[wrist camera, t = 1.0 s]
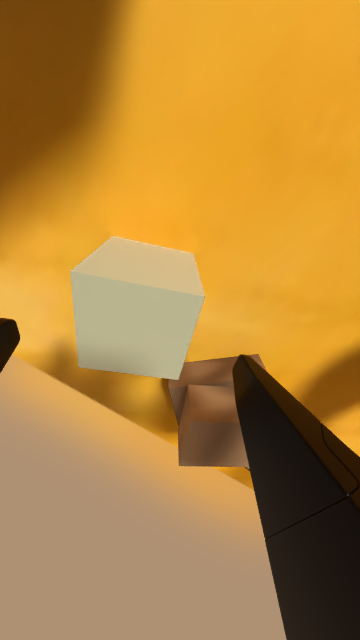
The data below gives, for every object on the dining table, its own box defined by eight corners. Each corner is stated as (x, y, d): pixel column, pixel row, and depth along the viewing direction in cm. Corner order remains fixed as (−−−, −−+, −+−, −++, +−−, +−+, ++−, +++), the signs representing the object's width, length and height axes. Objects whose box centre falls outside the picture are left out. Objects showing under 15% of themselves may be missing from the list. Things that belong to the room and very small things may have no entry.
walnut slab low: (256, 350, 18) (269, 376, 16) (251, 402, 23) (260, 429, 20) (169, 360, 19) (168, 387, 16) (180, 410, 23) (181, 437, 21)
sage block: (193, 253, 13) (205, 296, 8) (177, 317, 16) (178, 380, 11) (112, 235, 12) (70, 271, 7) (110, 306, 15) (78, 367, 10)
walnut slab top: (272, 388, 17) (289, 425, 14) (246, 432, 20) (256, 467, 18) (188, 384, 16) (191, 421, 13) (178, 430, 20) (178, 465, 17)
